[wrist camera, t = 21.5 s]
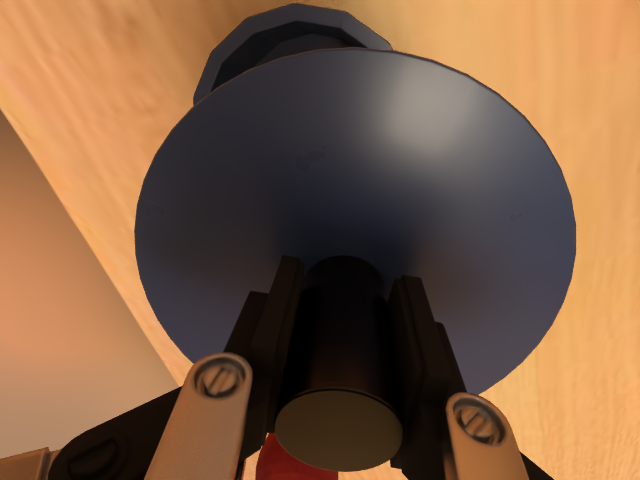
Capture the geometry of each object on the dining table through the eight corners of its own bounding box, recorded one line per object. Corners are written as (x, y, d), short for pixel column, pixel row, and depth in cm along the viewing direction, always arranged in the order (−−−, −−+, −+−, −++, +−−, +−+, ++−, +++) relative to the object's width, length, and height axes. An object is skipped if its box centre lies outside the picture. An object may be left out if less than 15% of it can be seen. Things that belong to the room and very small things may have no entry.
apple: (327, 451, 48) (321, 538, 39) (261, 433, 48) (240, 517, 39) (350, 409, 44) (349, 496, 35) (277, 388, 43) (258, 472, 35)
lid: (130, 8, 10) (-187, -65, 4) (652, 94, 10) (1092, 144, 4) (165, 373, 16) (66, 538, 11) (469, 425, 16) (531, 618, 11)
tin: (238, 8, 25) (191, -16, 18) (420, 40, 25) (450, 29, 18) (232, 184, 32) (194, 221, 24) (378, 209, 32) (386, 255, 24)
